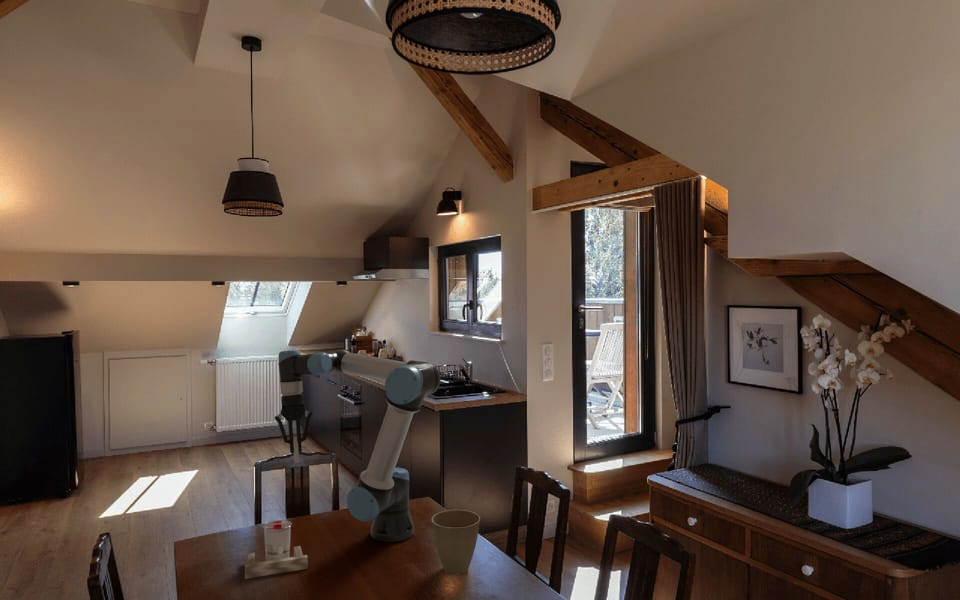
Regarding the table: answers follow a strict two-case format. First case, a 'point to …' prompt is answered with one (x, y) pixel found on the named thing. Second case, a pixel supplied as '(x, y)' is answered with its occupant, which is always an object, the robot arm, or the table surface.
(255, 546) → the table surface
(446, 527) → the plant pot
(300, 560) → the cream wooden u-shaped piece
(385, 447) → the robot arm
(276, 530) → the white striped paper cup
